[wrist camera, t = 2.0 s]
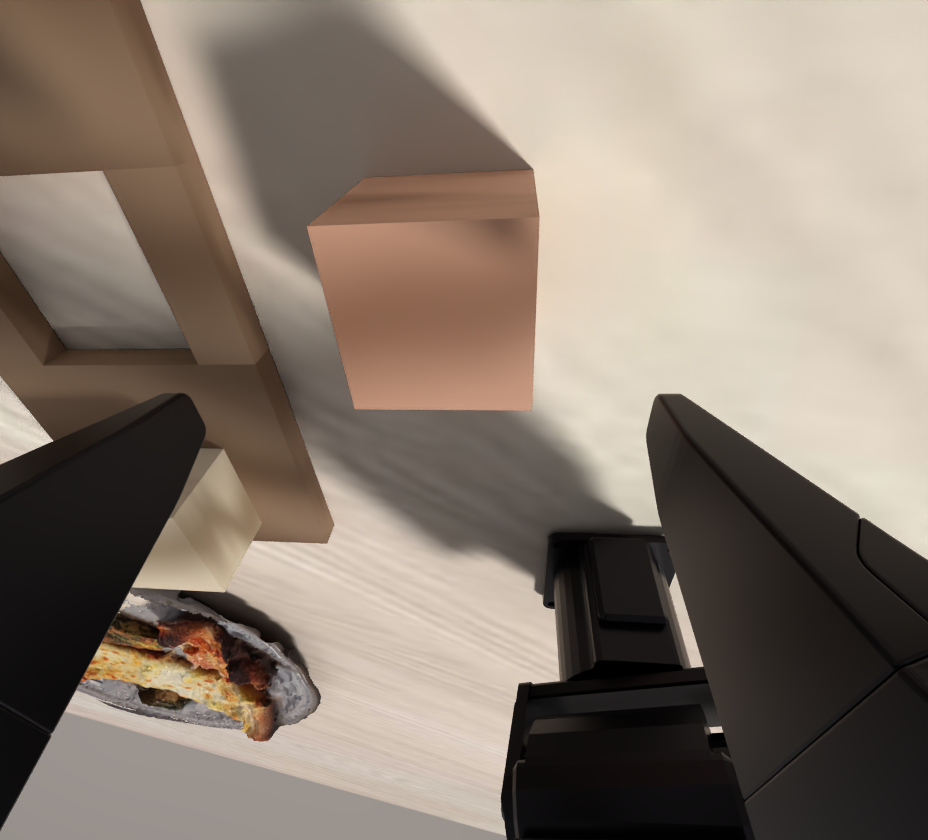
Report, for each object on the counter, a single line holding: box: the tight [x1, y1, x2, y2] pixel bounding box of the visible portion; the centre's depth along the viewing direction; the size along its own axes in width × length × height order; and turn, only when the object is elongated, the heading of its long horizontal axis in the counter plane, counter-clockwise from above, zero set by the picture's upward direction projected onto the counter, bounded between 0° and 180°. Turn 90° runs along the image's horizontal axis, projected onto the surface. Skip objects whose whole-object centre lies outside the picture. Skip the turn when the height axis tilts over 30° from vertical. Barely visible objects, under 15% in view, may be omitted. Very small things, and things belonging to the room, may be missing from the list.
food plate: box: [76, 587, 321, 742], centre depth 35 cm, size 25×23×4 cm
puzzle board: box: [0, 0, 334, 592], centre depth 15 cm, size 28×11×5 cm, turn 4°
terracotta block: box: [307, 169, 539, 410], centre depth 13 cm, size 5×5×5 cm
